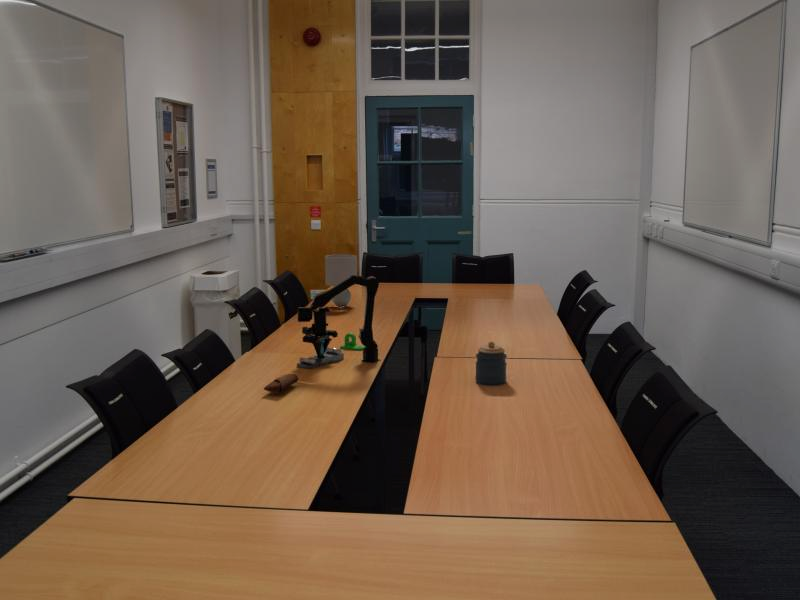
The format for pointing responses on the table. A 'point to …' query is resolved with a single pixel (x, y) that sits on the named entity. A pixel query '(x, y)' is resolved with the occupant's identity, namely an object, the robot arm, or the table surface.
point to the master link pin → (321, 349)
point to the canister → (491, 365)
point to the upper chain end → (330, 355)
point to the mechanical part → (351, 343)
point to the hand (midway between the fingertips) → (320, 354)
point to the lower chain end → (311, 363)
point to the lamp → (340, 275)
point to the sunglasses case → (281, 383)
